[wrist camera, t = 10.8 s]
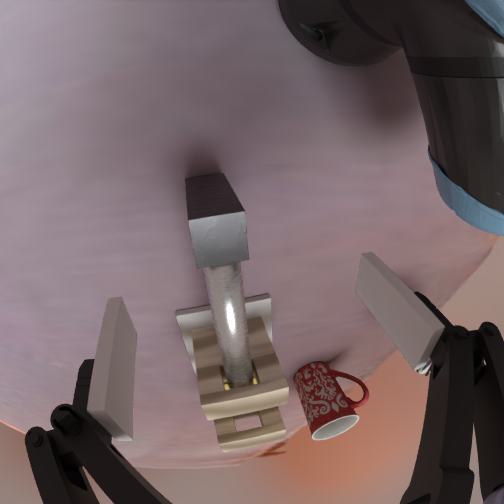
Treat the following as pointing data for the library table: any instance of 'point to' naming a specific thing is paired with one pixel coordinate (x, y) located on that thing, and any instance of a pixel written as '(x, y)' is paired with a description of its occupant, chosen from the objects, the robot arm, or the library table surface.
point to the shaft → (222, 267)
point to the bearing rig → (244, 398)
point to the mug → (326, 400)
